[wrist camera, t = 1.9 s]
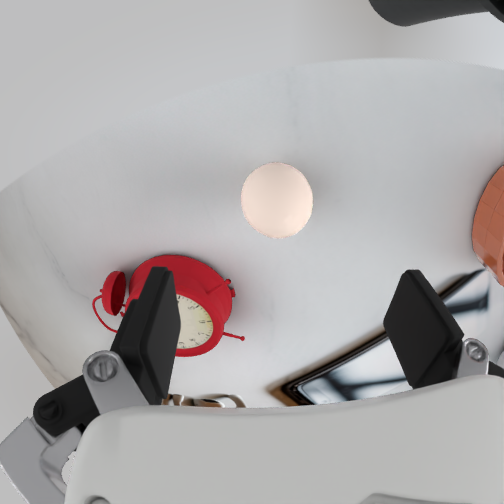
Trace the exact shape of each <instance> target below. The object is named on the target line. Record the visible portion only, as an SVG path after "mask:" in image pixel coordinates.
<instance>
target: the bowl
mask: <svg viewBox="0 0 504 504" xmlns="http://www.w3.org/2000/svg"><path fill="white" fill-rule="evenodd" d="M472 242H473V250H474V253H475V254H476V256H477V258H478V260H479V261H480V262H481V263H482V265H483V266H484V267H485V268H486V269H487V270H488V271H489V272H490V273H491V274H492V276H493V277H494V278H495V279H496V280H497V281H498V283H499V284H500V285H502V286H503V287H504V165H503V166H502V167H500V168H499V169H498V171H497V172H496V173H495V175H494V176H493V177H492V178H491V180H490V181H489V182H488V184H487V186H486V188H485V190H484V192H483V194H482V196H481V198H480V200H479V204H478V207H477V210H476V214H475V217H474V223H473V231H472Z"/></svg>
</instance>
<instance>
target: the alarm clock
mask: <svg viewBox="0 0 504 504" xmlns="http://www.w3.org/2000/svg"><path fill="white" fill-rule="evenodd" d="M153 266H161V267H167V268H168V271H173V276H174V283H175V289H176V295H177V302H178V308H179V313H180V319H181V330H180V335H179V340H178V344H177V349H176V354H175V356H178V357H191V356H197V355H201V354H204V353H206V352H208V351H210V350H212V349H213V348H214V347H215V346H216V345H217V344H218V342H219V341H220V339H221V337H222V335H225V336H229V337H234V338H238V339H241V340H242V341H244V339H245V337H244V336H242V337H239V336H236V335H233V334H230V333H226V332H223V331H224V324H225V322H226V321H227V320H228V318H229V316H230V313H231V309H232V297H235V292H234V288H233V290H229V287H228V286H227V284H228V285H229V284H230V283H231V280H230V279H226V282H225V281H224V279H223V278H222V277H221V276H220V275H219V274H218V273H217V272H216V271H215V270H213V269H212V268H211V267H209V266H208V265H206V264H204V263H202V262H200V261H198V260H195V259H192V258H189V257H185V256H179V255H162V256H158V257H154V258H151V259H149V260H147V261H145V262H144V263H142V264H141V265H140V266H139V267H138V268H137V269H136V270H135V272H134V273H133V275H132V277H131V280H130V283H129V298H128V299H127V302H126V305H125V304H123V302H124V297H125V290H126V281H125V275H124V273H123V272H121V271H114V272H112V273H110V274H109V276H108V277H107V278H106V280H105V282H104V285H103V289H100V292H102V295H100V296H98V297H96V298H95V299H94V300H93V303H92V305H93V309H94V312H95V314H96V316H97V317H98V319H99V320H100V322H101V323H102V324H103V325H104V326H105V327H106V328H107V329H109V330H110V331H113V332H115V333H117V330H113V329H111V328H110V327H108V326H107V325H106V324H105V323H104V322H103V321H102V319H101V318H100V316H99V315H98V313H97V311H96V309H95V301H96V300H97V299H99V298H102V303H103V307H104V309H105V311H106V312H107V313H108V314H111V315H114V316H116V315H117V314H118V313H119V312H120V310H121V308H122V306H124V307H125V312H126V310H127V308H128V305H129V303H130V301H131V300H132V299H138V298H139V295H140V293H141V291H142V288H143V286H144V284H145V281H146V279H147V277H148V275H149V272H150V270H151V268H152V267H153ZM120 314H121V316H122V317H123V316H124V315H125V313H123V312H120Z"/></svg>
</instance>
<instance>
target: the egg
mask: <svg viewBox="0 0 504 504" xmlns="http://www.w3.org/2000/svg"><path fill="white" fill-rule="evenodd" d="M241 205H242V210H243V213H244V216H245V218H246V219H247V221H248V223H249V224H250V225H251V226H252V227H253V228H254V229H255V230H256V231H258V232H259V233H261V234H263V235H265V236H267V237H270V238H277V239H278V238H286V237H290V236H292V235H294V234H296V233H298V232H299V231H300V230H301V229H302V228H303V227H304V226H305V225H306V223H307V221H308V220H309V218H310V215H311V213H312V209H313V194H312V191H311V188H310V185H309V183H308V181H307V180H306V178H305V176H304V175H303V174H302V173H301V172H300V171H299V170H297V169H296V168H294V167H293V166H291V165H288V164H284V163H279V162H273V163H268V164H264V165H262V166H260V167H258V168H257V169H255V170H254V171H252V173H251V174H250V175H249V176H248V177H247V178H246V180H245V182H244V185H243V188H242V192H241Z"/></svg>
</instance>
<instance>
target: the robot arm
mask: <svg viewBox="0 0 504 504" xmlns="http://www.w3.org/2000/svg"><path fill="white" fill-rule="evenodd" d="M383 325H384V328H385V330H386V332H387V335H388V337H389V339H390V341H391V343H392V346H393V348H394V350H395V352H396V355H397V357H398V359H399V362H400V364H401V366H402V369H403V371H404V374H405V376H406V378H407V381H408V383H409V385H410V386H412V388H413V390H409V391H405V392H400V393H395V394H390V395H384V396H379V397H373V398H367V399H361V400H354V401H346V402H338V403H330V404H320V405H308V406H294V407H274V408H215V407H193V406H170V405H161V403H162V399H166V398H167V395H168V390H169V385H170V379H171V374H172V369H173V364H174V359H175V354H176V349H177V344H178V340H179V335H180V330H181V319H180V313H179V308H178V302H177V295H176V289H175V283H174V276H173V271H168V268H167V267H161V266H153V267H152V268H151V270H150V272H149V275H148V277H147V279H146V281H145V284H144V286H143V288H142V291H141V293H140V295H139V298H138V299H132V300H131V301H130V303H129V305H128V308H127V310H126V312H125V315H124V317H123V319H122V322H121V324H120V326H119V329H118V331H117V334H116V336H115V339H114V341H113V344H112V346H111V349H110V351H108V350H105V351H99V352H95V353H94V354H92V355H90V356H89V357H88V358H87V359H86V361H85V363H84V365H83V370H82V371H83V375H81V376H79V377H77V378H75V379H74V380H72V381H70V382H68V383H66V384H64V385H62V386H60V387H58V388H56V389H55V390H53V391H51V392H49V393H47V394H45V395H43V396H42V397H40V398H39V399H38V400H37V402H36V403H35V406H34V409H33V415H34V416H33V417H32V418H31V419H29V418H28V417H27V418H26V419H25V420H24V421H23V422H22V423H21V424H20V425H19V426H18V427H17V428H16V429H15V430H14V431H13V432H12V433H10V435H9V436H8V437H7V438H6V439H5V440H4V441H3V442H2V443H1V444H0V466H1V468H2V470H3V471H4V473H5V474H6V476H7V477H8V479H9V480H10V482H11V483H12V484H13V486H14V487H15V488H16V490H17V491H18V493H19V494H20V495H21V497H22V498H23V499H24V500H25V502H26V503H27V504H504V369H503V368H502V367H500V366H498V365H496V364H494V363H492V362H490V361H489V353H488V350H487V348H486V347H485V345H484V344H483V343H481V342H480V341H479V340H477V339H474V338H468V339H466V340H465V341H464V342H463V341H462V340H461V339H462V338H463V336H464V333H463V332H462V330H461V328H460V327H459V325H458V324H457V322H456V321H455V319H454V318H453V316H452V315H451V313H450V312H449V310H448V309H447V307H446V306H445V304H444V303H443V301H442V300H441V299H440V297H439V296H438V294H437V293H436V292H435V290H434V289H433V287H432V286H431V285H430V283H429V282H428V281H427V279H426V278H425V277H424V275H423V274H422V273H421V271H420V270H406V271H405V273H403V274H402V276H401V278H400V281H399V283H398V286H397V288H396V291H395V294H394V296H393V299H392V301H391V303H390V306H389V308H388V311H387V313H386V315H385V318H384V321H383ZM73 451H76V453H75V456H74V459H73V463H72V466H71V471H70V475H69V480H68V485H66V484H65V482H64V481H63V479H62V475H61V472H62V468H63V466H64V464H65V463H66V462H67V461H68V460H69V458H68V456H69V455H70V454H71V453H72V452H73Z"/></svg>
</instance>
